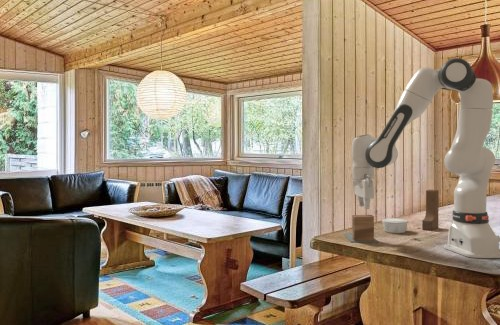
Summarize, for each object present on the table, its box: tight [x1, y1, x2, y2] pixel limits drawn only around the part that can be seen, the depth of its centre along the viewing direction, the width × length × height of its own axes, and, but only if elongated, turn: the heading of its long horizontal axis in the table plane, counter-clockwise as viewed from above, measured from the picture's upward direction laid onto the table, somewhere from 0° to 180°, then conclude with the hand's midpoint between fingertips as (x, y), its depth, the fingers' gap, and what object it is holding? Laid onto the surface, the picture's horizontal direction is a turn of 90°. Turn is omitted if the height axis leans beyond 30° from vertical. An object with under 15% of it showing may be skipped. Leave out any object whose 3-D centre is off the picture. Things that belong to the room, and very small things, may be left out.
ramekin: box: [381, 217, 409, 234], centre depth 206 cm, size 11×11×5 cm
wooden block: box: [421, 189, 440, 231], centre depth 210 cm, size 9×4×18 cm, turn 139°
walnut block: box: [351, 214, 375, 241], centre depth 187 cm, size 4×8×10 cm, turn 89°
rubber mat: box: [343, 232, 379, 243], centre depth 192 cm, size 16×11×1 cm
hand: (364, 207), depth 186 cm, fingers open, 8 cm apart
